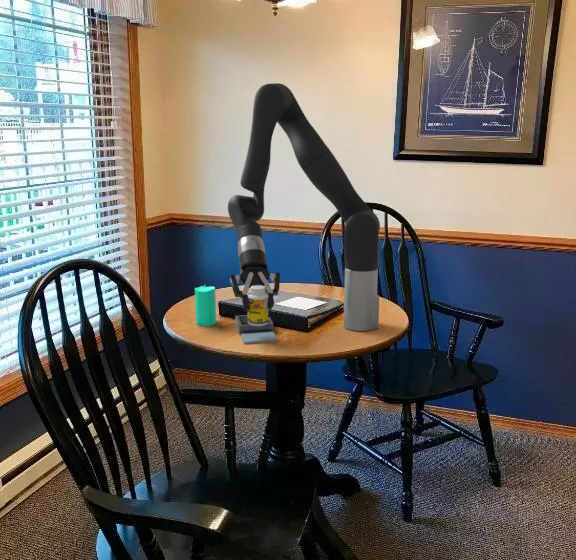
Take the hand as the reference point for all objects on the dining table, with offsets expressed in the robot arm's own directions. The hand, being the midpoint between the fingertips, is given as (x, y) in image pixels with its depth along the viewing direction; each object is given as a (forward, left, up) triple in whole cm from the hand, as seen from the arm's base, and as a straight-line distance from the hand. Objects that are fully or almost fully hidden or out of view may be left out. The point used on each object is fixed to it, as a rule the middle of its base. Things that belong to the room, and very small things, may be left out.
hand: (259, 308), depth 157 cm
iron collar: (0, -11, -9) cm, 14 cm away
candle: (+13, -19, -9) cm, 25 cm away
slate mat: (0, -2, -9) cm, 9 cm away
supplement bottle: (0, -2, -5) cm, 5 cm away
